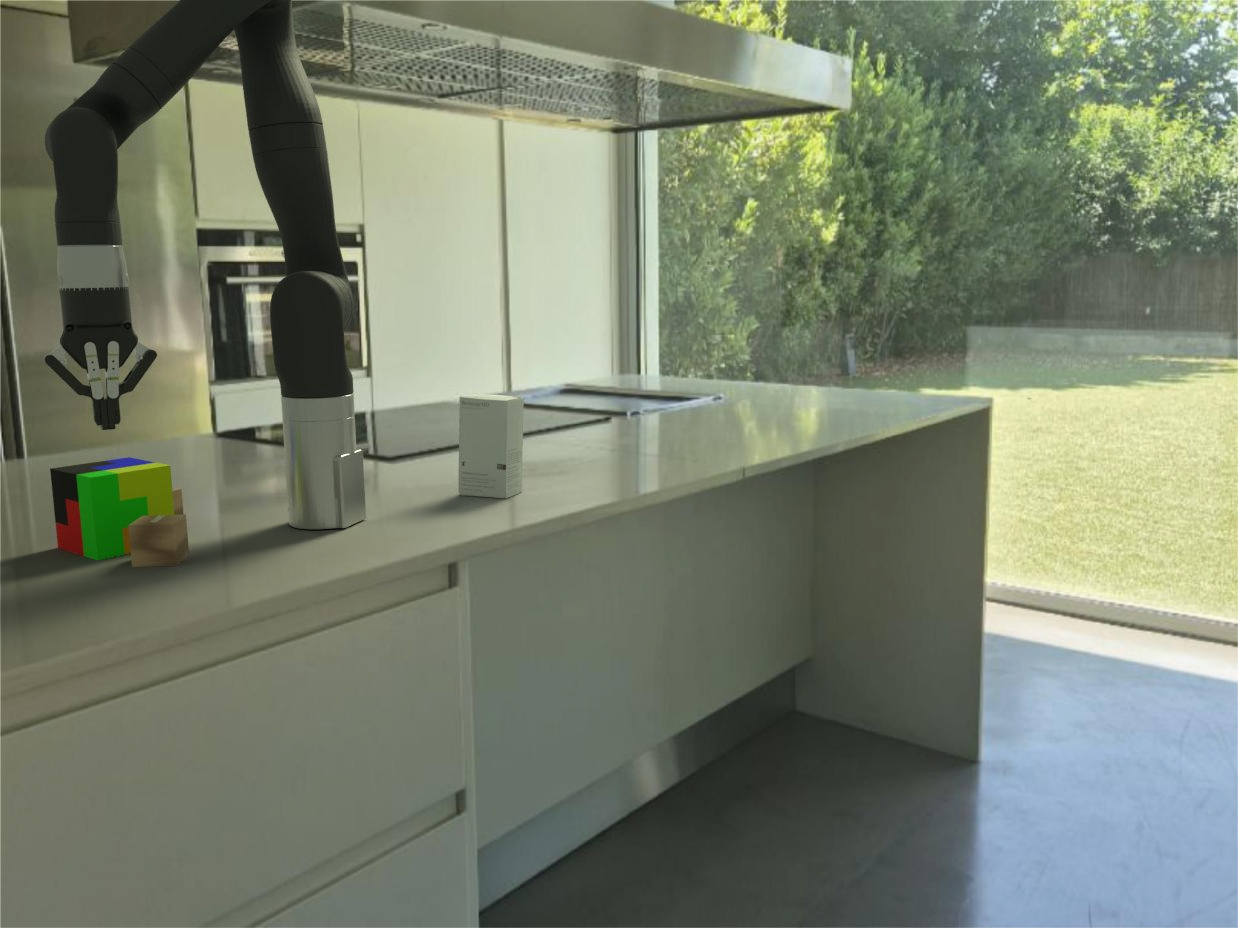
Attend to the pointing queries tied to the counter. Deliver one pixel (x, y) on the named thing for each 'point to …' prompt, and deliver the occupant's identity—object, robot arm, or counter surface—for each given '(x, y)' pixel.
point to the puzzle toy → (107, 503)
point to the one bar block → (158, 540)
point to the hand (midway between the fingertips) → (107, 428)
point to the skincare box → (490, 445)
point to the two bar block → (177, 501)
